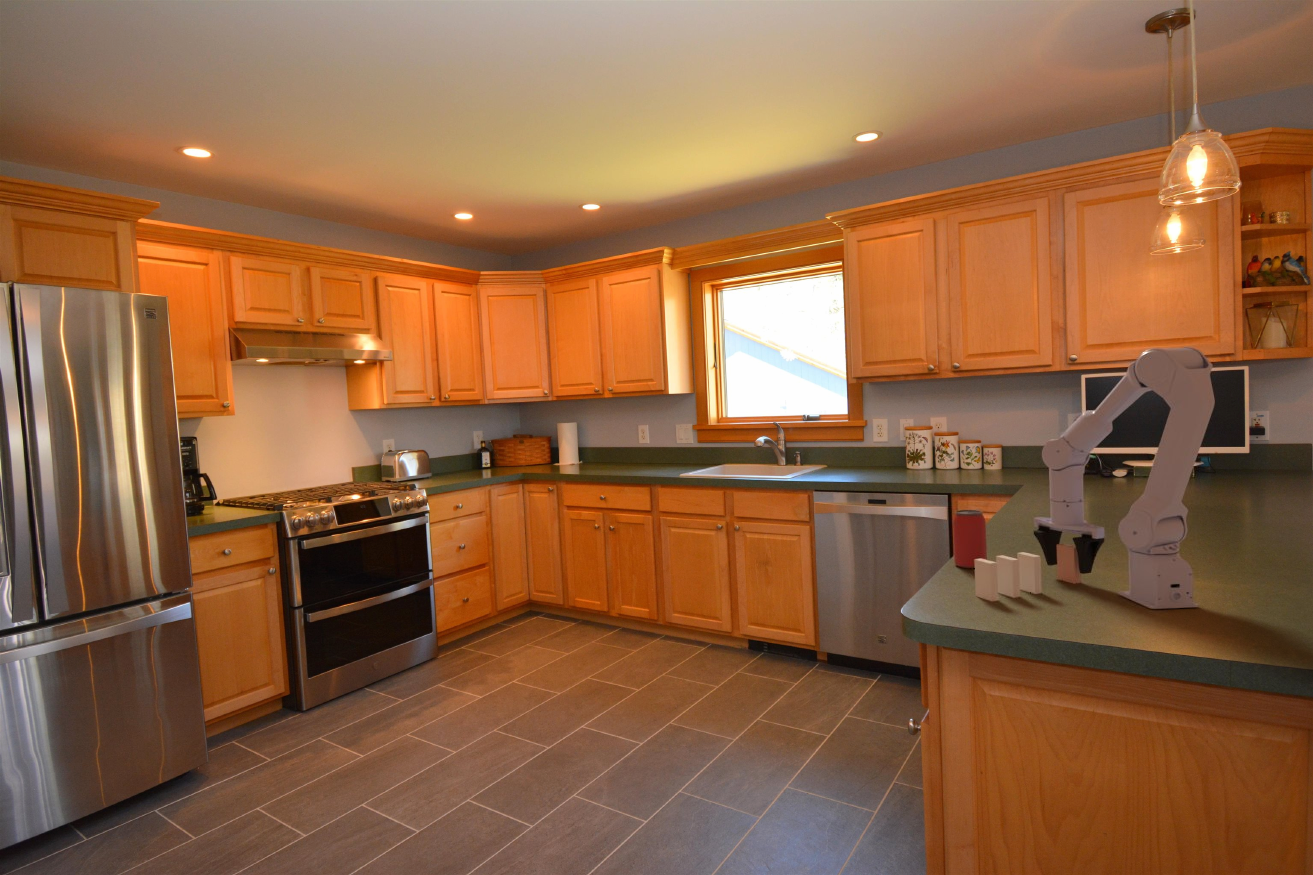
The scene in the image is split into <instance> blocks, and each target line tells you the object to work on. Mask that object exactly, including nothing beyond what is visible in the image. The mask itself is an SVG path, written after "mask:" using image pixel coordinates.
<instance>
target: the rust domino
mask: <svg viewBox="0 0 1313 875" xmlns="http://www.w3.org/2000/svg"><path fill="white" fill-rule="evenodd" d="M1056 567H1057V568H1056V570H1057V580H1058V581H1062V580H1063V582H1067V583H1070V584H1074V585H1077V584H1081V583H1082V576H1081V575H1082V573H1080V571H1079V563H1078V554H1077V550H1076V546H1075V545H1070V544H1065V543H1059V544H1057V565H1056ZM1076 583H1077V584H1076Z"/></svg>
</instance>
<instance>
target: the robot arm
mask: <svg viewBox="0 0 1313 875" xmlns="http://www.w3.org/2000/svg"><path fill="white" fill-rule="evenodd" d="M1213 367H1214V365H1213V364H1212V363H1211V361H1210V360H1209V359H1208V358H1207V357H1206V356H1205V354H1204V353H1203V352H1202V351H1201V350H1199V349H1197V348H1195V347H1191V346H1184V347H1177V348H1159V347H1157V348H1156V347H1154V348H1149V349H1146V350H1144V351H1142V352H1141V354H1140V355H1139V356H1138V357H1137V358H1136V360H1134V361H1132V363H1130V364H1128V368H1127V371H1126V373H1125V375H1123V376H1122V378H1121V379H1120V380H1119V382H1118V383H1117V384H1116V385H1115V386H1114V387H1113V388H1112V390H1111V391H1110V392H1109V393H1108V394H1107V395H1106V397H1105V398H1104V399H1103V400H1102V401H1101V402H1100V404H1099V405H1098V406H1097V407H1096V408H1095V409H1093V410H1091V409H1090V410H1084V411H1083V412H1079V413H1078V414H1077V415H1075V417H1074V418H1075V419H1076V420H1074V422H1073V423H1072V424H1071V425H1070V426H1069V427H1068V428H1067V429H1066V430H1064V431H1063V430H1062V432H1060V434H1059V437H1058V438H1057V439H1050V440H1047V442H1046V443H1045V444H1044V446H1043V448H1042V450H1041V459H1042V461H1043V463H1044V465H1045V466H1046V467H1047V468H1048V470H1049V471H1048V473H1049V474H1048V475H1049V476H1048V477H1049V478H1048V479H1049V480H1048V482H1049V502H1050V504H1049V506H1050V507H1049V508H1050V510H1049V511H1050V517H1044V516H1038V517H1033V527H1034V528H1037V529H1036V530H1033V535H1034V537H1035V539H1037V542H1038V543H1039V545H1040V547H1041V550H1042V553H1043V555H1044V558H1045V561H1046V566H1050V567H1051V566H1057V544H1061V543H1060V542H1061V538H1062V535H1063V532H1064V533H1068V534H1075V535H1079V536H1076V537H1072V541H1073V544H1074V546H1076V550H1077V554H1078V563H1079V571H1080V573H1081V575H1082V574H1083V575H1084V574H1090V573H1091V574H1092V570H1093V565H1094V563H1095V559H1096V557H1097V555H1098V552H1099V550H1100V548H1101V547H1102V546H1103V544H1104V543H1105V527H1104V526H1103V527H1102V526H1098V525H1095V524H1091V523H1088V522H1087V520H1085V499H1084V498H1085V497H1084V495H1085V494H1084V474H1085V469H1086V468H1085V467H1086V465H1087V464H1088V462H1089V461H1090V458H1091V452H1092V451H1093V450H1094V449H1095V448H1096V447H1098V446H1099V444H1100V443H1101V442H1102V441H1104V439H1106V437H1107V436H1109V434H1111V433H1112V432H1113V429H1114V428H1113V421H1114V420H1115V419H1117V418H1118V417H1119V416H1120V415H1121V414H1122V413H1123V412H1124V411H1125V410H1127V409H1128V408H1129V407H1130V406H1131V405H1133V404H1134V403H1135V402H1136V401H1137V400H1138V399H1139V398H1140V397H1141V396H1142V395H1144V394H1145V393H1147V392H1151V391H1153V392H1154V393H1155V394H1157V395H1159V396H1160V397H1161V398H1162V399H1163V400H1164V401H1165V403H1166V404H1167V405H1168V406H1169V408H1170V410H1169V414H1168V417H1167V419H1166V423H1165V426H1164V429H1163V432H1162V436H1161V438H1160V441H1159V444H1158V448H1157V451H1156V454H1155V457H1154V460H1153V463H1152V466H1151V470H1150V473H1149V475H1148V478H1147V483H1146V484H1145V488H1144V491H1143V493H1142V495H1141V496H1140V497H1138V499H1137V500H1135V501H1134V502H1133V503H1132V504H1131V506H1130V509H1129V510H1128V511H1129V512H1128V513H1127V514H1126V516H1124V517H1123V518H1122V519H1121V520H1120V521H1119V524H1118V529H1117V532H1118V536H1119V539H1120V540H1121V542H1122V543H1123V544H1124V545H1125V546H1126V551H1128V578H1129V579H1128V580H1129V581H1128V585H1129V586H1128V587H1129V590H1125V591H1124V590H1123V591H1118V593H1117V594H1118V595H1119V596H1121V597H1124V598H1126V599H1129V600H1131V601H1133V602H1134V603H1137V604H1139V605H1142V606H1144V607H1145V608H1148V609H1151V610H1157V609H1158V610H1161V609H1180V608H1185V609H1186V608H1199V607H1200V604H1199V603H1197V602H1194V571H1193V569H1192V567H1191V564H1189V562H1187V560H1185V559H1183V558H1182V557H1181V555H1180V552H1179V550H1180V543H1181V542H1183V541H1184V540H1185V538H1186V536H1187V533H1188V524H1187V516H1188V513H1189V509H1188V508H1187V507H1186V506H1185V505H1184V504H1183V502H1182V501H1183V497H1184V495H1185V493H1186V489H1187V486H1188V484H1189V481H1190V477H1191V474H1192V472H1193V469H1194V466H1195V463H1196V460H1197V456H1198V454H1199V451H1200V449H1201V446H1202V443H1203V440H1204V438H1205V434H1206V431H1207V428H1208V425H1209V423H1210V419H1211V416H1212V413H1213V411H1214V408H1215V403H1216V402H1215V400H1216V399H1215V396H1214V389H1213V385H1212V380H1211V372H1212V370H1213Z"/></svg>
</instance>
